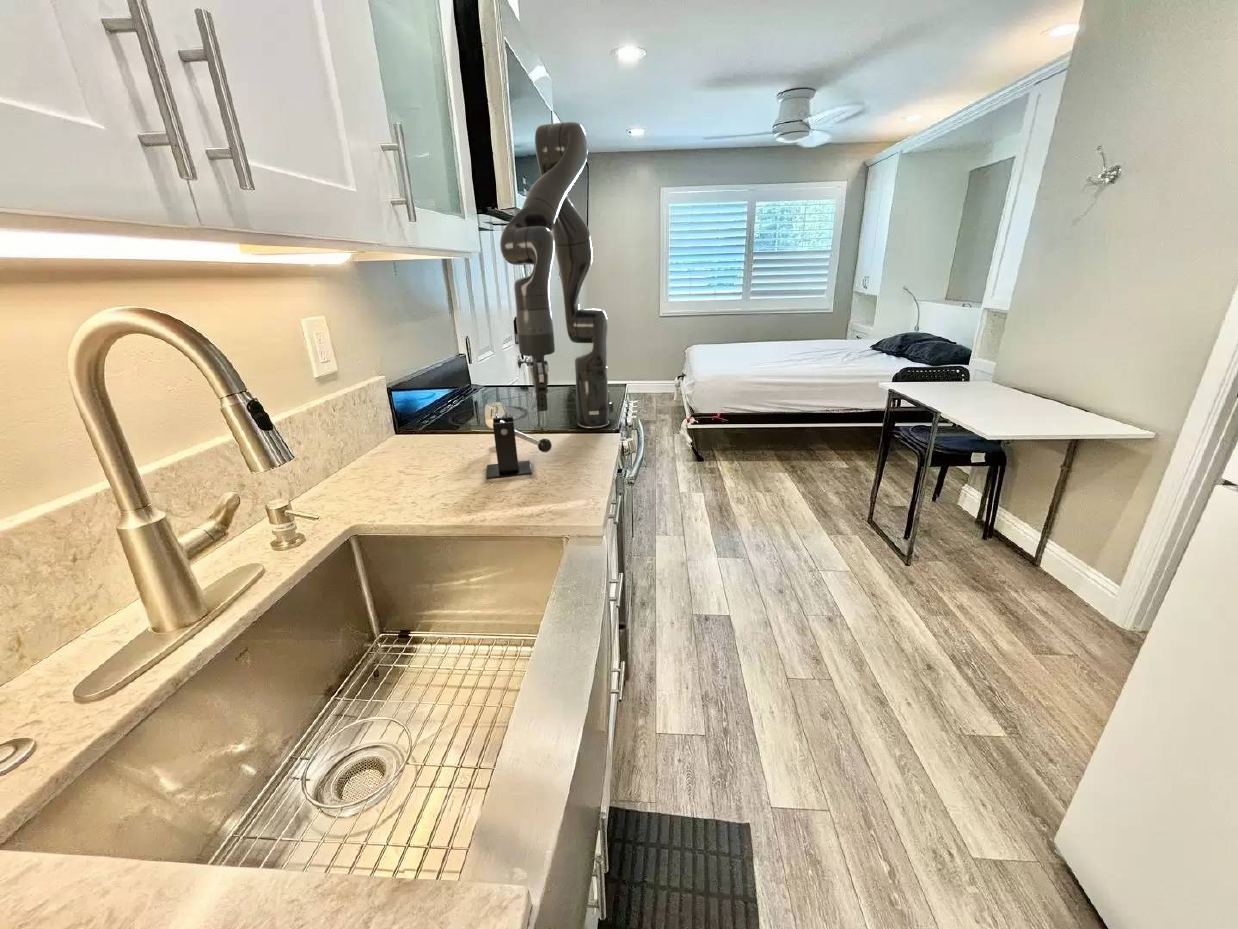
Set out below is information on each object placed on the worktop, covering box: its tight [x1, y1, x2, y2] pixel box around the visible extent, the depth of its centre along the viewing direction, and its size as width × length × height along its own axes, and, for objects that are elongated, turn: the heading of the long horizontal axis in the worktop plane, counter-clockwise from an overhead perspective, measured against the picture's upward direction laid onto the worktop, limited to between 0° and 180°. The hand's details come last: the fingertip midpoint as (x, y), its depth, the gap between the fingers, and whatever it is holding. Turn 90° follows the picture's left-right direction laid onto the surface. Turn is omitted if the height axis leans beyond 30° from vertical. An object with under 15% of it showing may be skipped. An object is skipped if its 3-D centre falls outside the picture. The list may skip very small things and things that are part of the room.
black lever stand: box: [485, 416, 533, 480], centre depth 111 cm, size 10×8×13 cm
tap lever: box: [499, 420, 553, 453], centre depth 111 cm, size 13×3×3 cm, turn 104°
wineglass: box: [483, 401, 508, 430], centre depth 127 cm, size 6×6×12 cm
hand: (542, 410), depth 110 cm, fingers closed
